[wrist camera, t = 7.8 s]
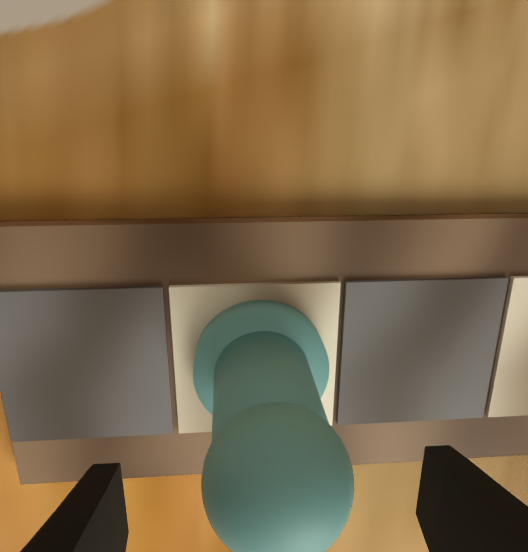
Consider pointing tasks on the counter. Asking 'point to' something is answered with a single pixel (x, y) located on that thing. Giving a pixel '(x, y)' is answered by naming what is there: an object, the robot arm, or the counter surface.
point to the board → (261, 286)
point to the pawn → (270, 432)
